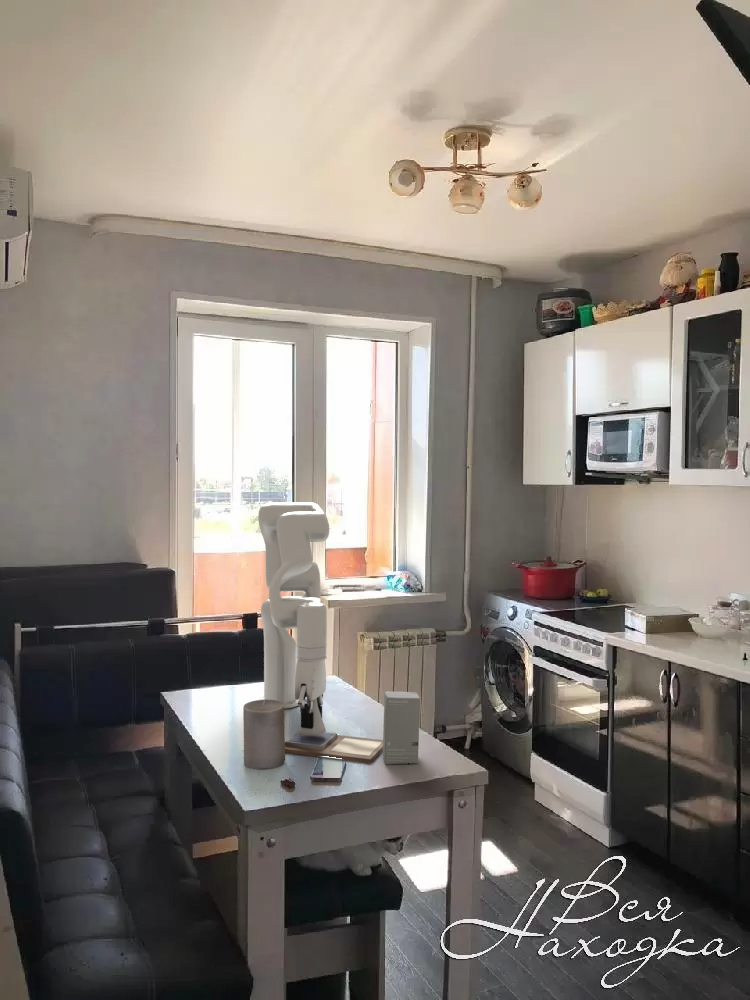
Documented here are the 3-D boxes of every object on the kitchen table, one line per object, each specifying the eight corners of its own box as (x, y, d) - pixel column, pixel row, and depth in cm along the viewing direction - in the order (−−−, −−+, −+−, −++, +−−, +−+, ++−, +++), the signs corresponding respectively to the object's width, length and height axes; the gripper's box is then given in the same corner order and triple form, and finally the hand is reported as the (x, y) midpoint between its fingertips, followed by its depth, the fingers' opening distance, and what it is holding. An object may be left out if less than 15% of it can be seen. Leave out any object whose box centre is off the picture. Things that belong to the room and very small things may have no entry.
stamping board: (300, 734, 212) (300, 726, 212) (388, 744, 205) (388, 736, 205) (277, 751, 199) (277, 743, 199) (370, 763, 191) (370, 754, 191)
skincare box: (384, 765, 190) (384, 698, 190) (382, 754, 198) (382, 690, 197) (420, 764, 191) (420, 697, 190) (416, 753, 198) (417, 689, 198)
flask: (321, 737, 199) (321, 696, 199) (293, 735, 201) (293, 695, 200) (329, 728, 206) (329, 689, 206) (302, 726, 208) (302, 687, 208)
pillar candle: (265, 752, 199) (264, 691, 198) (293, 761, 193) (292, 698, 192) (235, 763, 191) (234, 700, 191) (263, 773, 185) (262, 708, 185)
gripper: (310, 644, 212) (311, 713, 213) (283, 658, 196) (283, 733, 197) (337, 646, 210) (337, 716, 210) (312, 661, 194) (312, 736, 194)
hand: (311, 723), depth 203 cm, fingers closed on flask, 4 cm apart
